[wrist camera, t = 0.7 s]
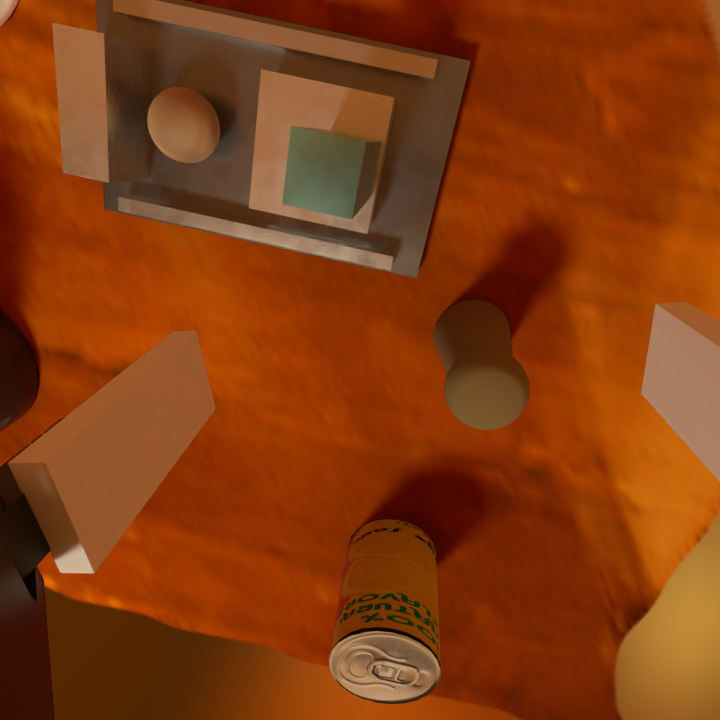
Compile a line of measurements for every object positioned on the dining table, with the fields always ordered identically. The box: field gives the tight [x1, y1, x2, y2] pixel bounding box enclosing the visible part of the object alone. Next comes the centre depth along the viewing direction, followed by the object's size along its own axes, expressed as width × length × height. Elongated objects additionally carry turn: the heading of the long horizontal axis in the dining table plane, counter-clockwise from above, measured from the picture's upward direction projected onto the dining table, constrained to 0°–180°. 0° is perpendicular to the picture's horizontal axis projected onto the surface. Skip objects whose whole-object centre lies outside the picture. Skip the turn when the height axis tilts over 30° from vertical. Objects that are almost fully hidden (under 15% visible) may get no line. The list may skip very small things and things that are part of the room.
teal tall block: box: [249, 69, 396, 234], centre depth 27 cm, size 8×8×13 cm
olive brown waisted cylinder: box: [434, 299, 529, 430], centre depth 34 cm, size 6×6×11 cm
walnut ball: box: [147, 87, 220, 163], centre depth 31 cm, size 4×4×4 cm
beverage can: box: [329, 519, 441, 704], centre depth 44 cm, size 9×9×12 cm
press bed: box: [52, 0, 471, 278], centre depth 31 cm, size 24×14×6 cm, turn 79°
